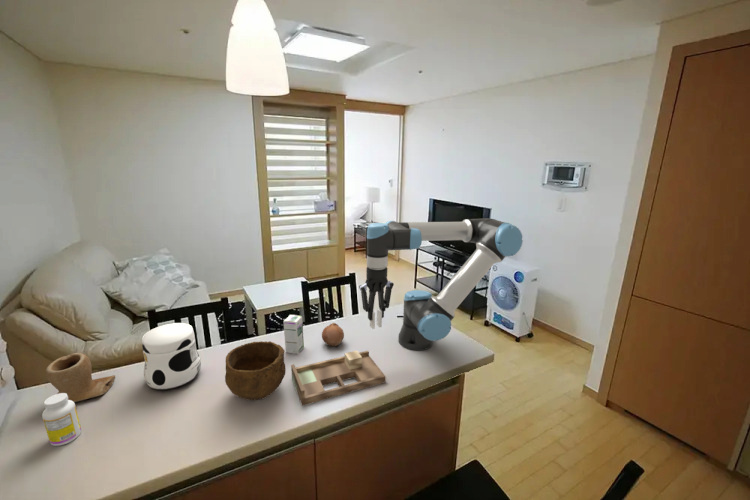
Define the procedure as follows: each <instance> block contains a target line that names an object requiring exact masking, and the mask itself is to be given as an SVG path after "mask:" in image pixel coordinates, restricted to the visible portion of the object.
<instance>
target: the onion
mask: <svg viewBox="0 0 750 500" xmlns="http://www.w3.org/2000/svg"><path fill="white" fill-rule="evenodd" d="M321 338H322V340H323V342H324V343H325V345H326V346H328V347H332V348H333V347H337V346H339V345H340V344H342V342H343V341H344V338H345V333H344V330H343V328H342V327H341V326H339V324H338V323H335V322H332V323H330V324H328V325H327V326H325V327H324V328H323V330H322V332H321Z"/></svg>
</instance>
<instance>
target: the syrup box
mask: <svg viewBox="0 0 750 500" xmlns="http://www.w3.org/2000/svg"><path fill="white" fill-rule="evenodd" d="M303 323H304V322H303V316H302V315H297V314H289V315H288V317H286V318H285V319H284V320H283V332H284V333H283V334H284V335H283V336H284V347H285V349H284V350H285V353H288V354H294V355H299V354H300V353H301V352H302V350H303V349H304V348H305V344H304V342H305V341H304V339H305V338H304V327H303V326H304V324H303Z"/></svg>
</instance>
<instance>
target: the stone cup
mask: <svg viewBox="0 0 750 500" xmlns="http://www.w3.org/2000/svg"><path fill="white" fill-rule="evenodd" d="M92 370H93V369H92V362H91V360H90V358H89V357H88V356H87V355H86V354H85V353H82V352H74V353H73V352H72V353H71V354H68V355H66V356H64V355H63V356H62V357H58V358H57V359H55V360H54V361H52V362H50V364H49V365H48V366H46V369H45V377H46V379H47V380H48V382H49V383H50V384H51V385H52V386H53V387H54V388H55V389H56V390H58V392H57V393H56V394H59V393H66V394H67V395H68V400H71V401H73V402H74V403H76V402H81V401H85V400H88V399H91V398H96V397H100V396H102V395H104V394H106V393H107V392H108V391H109V390H110V388H112V386H113V383H114V382H115V380H116V375H115V374H114V375H109V376H104V377H99V378H95V379H93V377H92V374H93V373H92Z"/></svg>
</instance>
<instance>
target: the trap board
mask: <svg viewBox="0 0 750 500" xmlns="http://www.w3.org/2000/svg"><path fill="white" fill-rule="evenodd" d="M359 354H360V355H361V356H362V367H359V368H355V369H351V370H349V369H348V367H347V366H346V364H345V355H343V356H340V357H339V356H338V357H336V358H335V357H334V358H331V359H330V358H329V359H327V360H322V361H318V362H313V363H309V364H305V365H302V366H297V367H296V365H295V364H291V365H290V366H291V380H292V382H293V385H294V388H295V391H296V393H297V395H298V396H297V397H298V399H299V402H300V404H301V407H303V406H307V405H311V404H313V403H317V402H321V401H324V400H327V399H332V398H334V397H338V396H343V395H346V394H349V393H352V392H356V391H359V390H363V389H366V388H370V387H373V386H377V385H381V384H384V383H386V379H387V376H386V374H385V373H384V372H383V371H382V370H381V368H380V367H379V366H378V365H377V363H376V362H375V361H374V360H373V358H372V357H371V356H370V351H369V350H365V351H361V352H359ZM353 378H355V380H356V381H355V382H352V383H348V384H345V383H344V381H346V380H350V379H353ZM335 383H336V384H337V387H334V388H330V389H327V390H325V388H324V386H327V385H331V384H335Z"/></svg>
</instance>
